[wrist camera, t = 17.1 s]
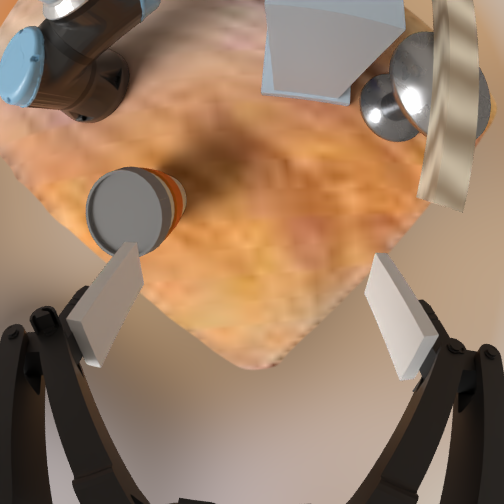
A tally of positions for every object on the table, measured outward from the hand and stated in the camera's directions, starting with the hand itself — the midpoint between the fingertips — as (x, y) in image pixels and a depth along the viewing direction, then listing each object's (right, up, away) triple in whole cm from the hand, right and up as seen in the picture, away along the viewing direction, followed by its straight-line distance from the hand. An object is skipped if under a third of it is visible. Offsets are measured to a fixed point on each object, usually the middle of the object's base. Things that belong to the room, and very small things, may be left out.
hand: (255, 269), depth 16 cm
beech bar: (+22, +20, +8) cm, 30 cm away
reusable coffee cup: (-16, +10, +35) cm, 39 cm away
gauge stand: (+9, +32, +25) cm, 41 cm away
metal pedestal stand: (+23, +25, +26) cm, 43 cm away
